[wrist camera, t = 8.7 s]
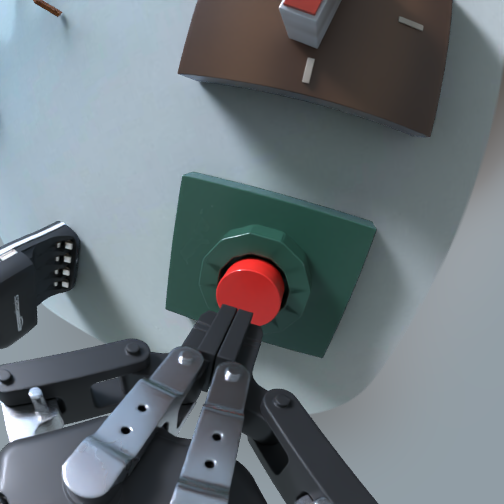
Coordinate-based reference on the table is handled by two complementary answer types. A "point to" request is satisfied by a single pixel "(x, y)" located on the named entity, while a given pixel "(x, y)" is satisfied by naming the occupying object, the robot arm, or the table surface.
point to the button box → (267, 255)
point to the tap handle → (308, 19)
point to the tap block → (330, 56)
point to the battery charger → (34, 276)
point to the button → (252, 289)
